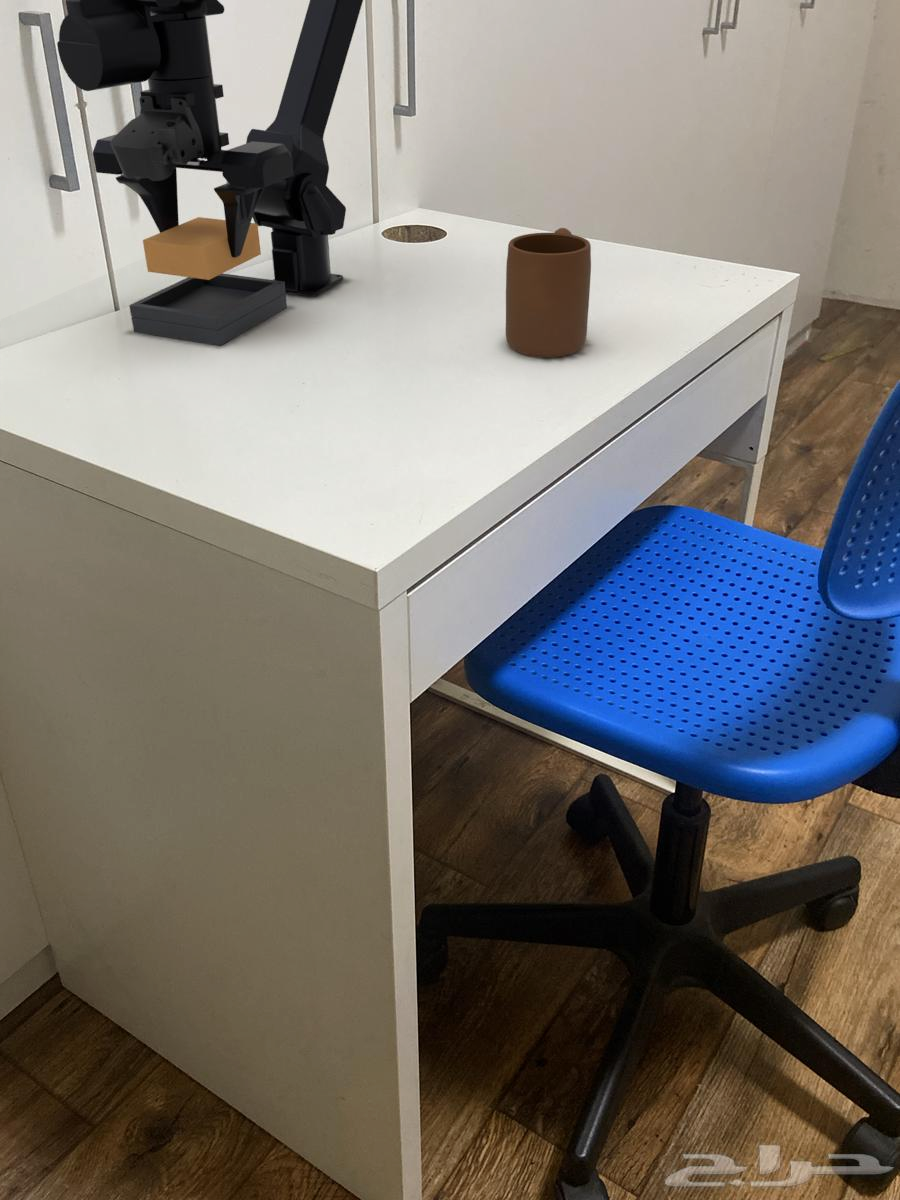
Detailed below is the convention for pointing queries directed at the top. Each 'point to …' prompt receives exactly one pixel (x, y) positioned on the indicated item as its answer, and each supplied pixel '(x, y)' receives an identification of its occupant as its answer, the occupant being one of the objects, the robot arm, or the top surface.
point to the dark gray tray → (208, 308)
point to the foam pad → (197, 249)
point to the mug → (547, 293)
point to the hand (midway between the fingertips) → (204, 252)
